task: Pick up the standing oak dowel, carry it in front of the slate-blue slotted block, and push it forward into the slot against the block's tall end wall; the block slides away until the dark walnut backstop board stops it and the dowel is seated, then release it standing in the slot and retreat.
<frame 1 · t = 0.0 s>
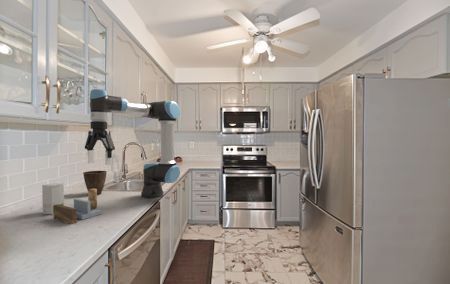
hand: (99, 163, 128), 28 cm above the worktop, fingers open, 13 cm apart
backstop board: (64, 220, 126), on the worktop
plant pot: (95, 194, 182), on the worktop
fork block: (84, 207, 135), point 4 cm above the worktop, slide at 0.0 cm
skincare box: (53, 212, 140), on the worktop
dowel: (92, 208, 148), on the worktop
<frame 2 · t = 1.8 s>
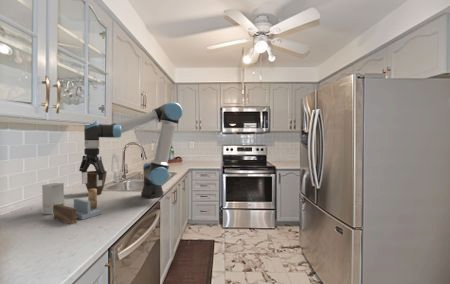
hand: (91, 184, 147), 14 cm above the worktop, fingers open, 13 cm apart
nothing on the worktop moved.
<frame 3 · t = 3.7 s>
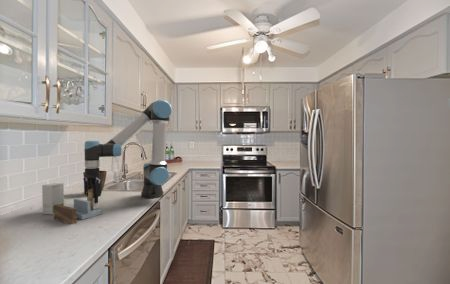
hand: (92, 207, 148), 0 cm above the worktop, fingers closed on dowel, 4 cm apart
dowel: (92, 208, 148), on the worktop, touching gripper
everything else where it was.
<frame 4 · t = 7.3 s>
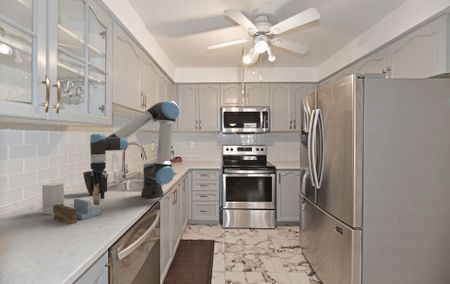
hand: (98, 203, 142), 4 cm above the worktop, fingers closed on dowel, 4 cm apart
dowel: (98, 204, 142), point 4 cm above the worktop, touching gripper
everything else where it was.
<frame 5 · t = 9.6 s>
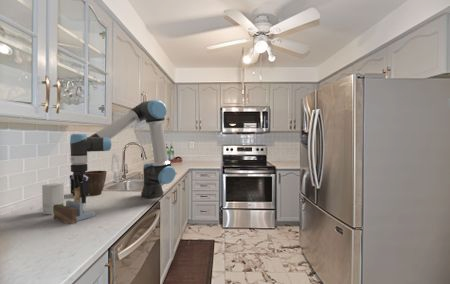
hand: (79, 208, 133), 4 cm above the worktop, fingers closed on dowel, 4 cm apart
fork block: (77, 209, 132), point 4 cm above the worktop, slide at 4.0 cm, touching backstop board, dowel
dowel: (80, 208, 133), point 4 cm above the worktop, touching fork block, gripper
everything else where it was.
when the fingers open (3 cm above the worktop, at t = 10.9 s): dowel drops 3 cm, on the worktop.
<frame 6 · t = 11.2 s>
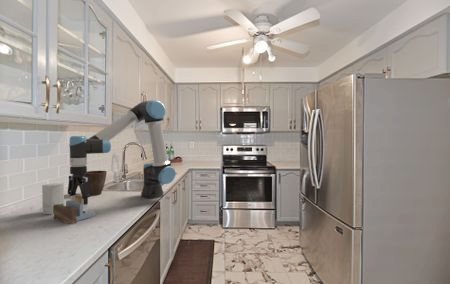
hand: (79, 209, 133), 4 cm above the worktop, fingers open, 9 cm apart
fork block: (77, 209, 132), point 4 cm above the worktop, slide at 4.0 cm, touching backstop board
dowel: (80, 216, 133), on the worktop
everything else where it was.
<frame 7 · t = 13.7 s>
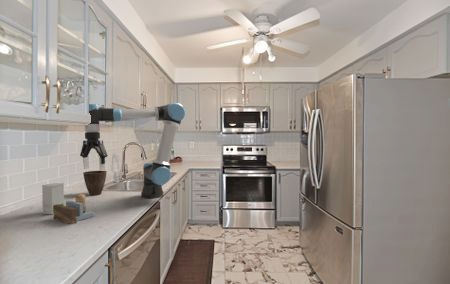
hand: (94, 169, 145), 23 cm above the worktop, fingers open, 13 cm apart
nothing on the worktop moved.
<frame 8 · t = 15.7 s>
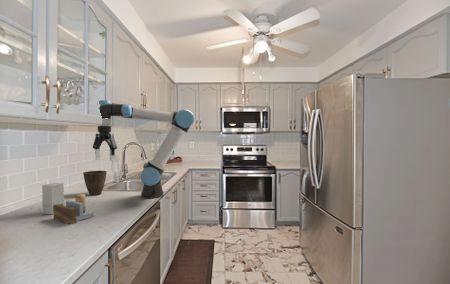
hand: (104, 160, 159), 27 cm above the worktop, fingers open, 13 cm apart
nothing on the worktop moved.
at the end: dowel 0.3 cm off-centre on the fork block, point 0.0 cm above the fork block's base; dowel tilted 0°; fork block slide at 4.0 cm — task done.
